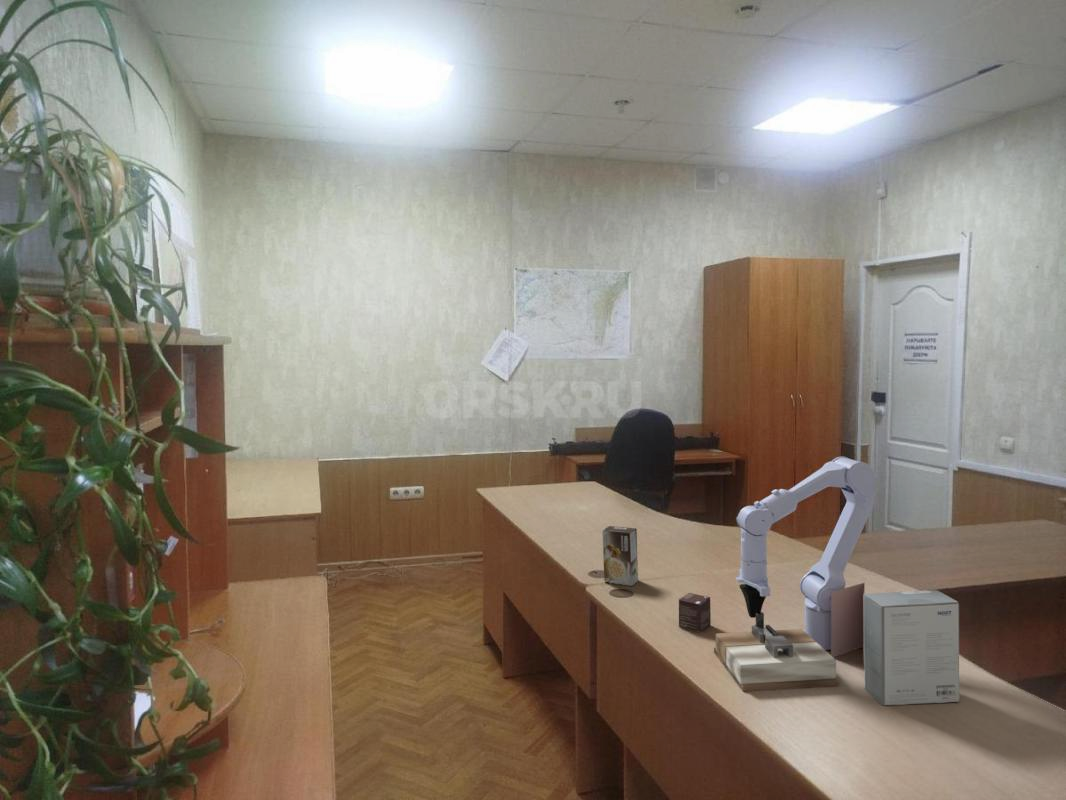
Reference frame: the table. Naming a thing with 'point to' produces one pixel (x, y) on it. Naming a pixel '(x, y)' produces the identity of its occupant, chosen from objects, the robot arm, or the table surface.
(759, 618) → the bolt
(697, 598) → the box
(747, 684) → the wooden board with latch
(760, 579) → the robot arm
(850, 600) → the greeting card
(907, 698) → the hard drive box
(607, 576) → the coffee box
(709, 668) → the table surface
